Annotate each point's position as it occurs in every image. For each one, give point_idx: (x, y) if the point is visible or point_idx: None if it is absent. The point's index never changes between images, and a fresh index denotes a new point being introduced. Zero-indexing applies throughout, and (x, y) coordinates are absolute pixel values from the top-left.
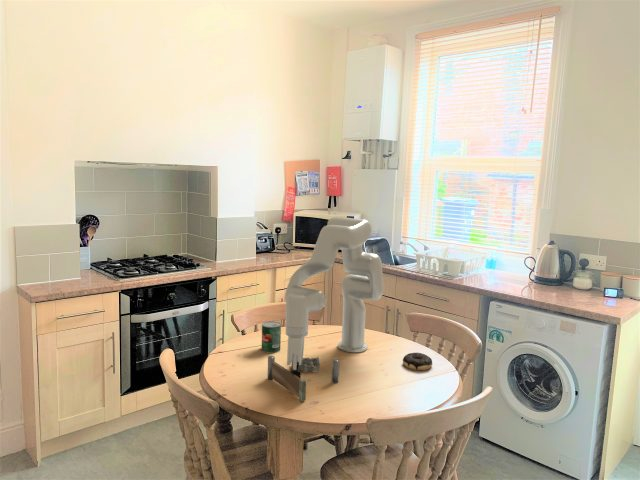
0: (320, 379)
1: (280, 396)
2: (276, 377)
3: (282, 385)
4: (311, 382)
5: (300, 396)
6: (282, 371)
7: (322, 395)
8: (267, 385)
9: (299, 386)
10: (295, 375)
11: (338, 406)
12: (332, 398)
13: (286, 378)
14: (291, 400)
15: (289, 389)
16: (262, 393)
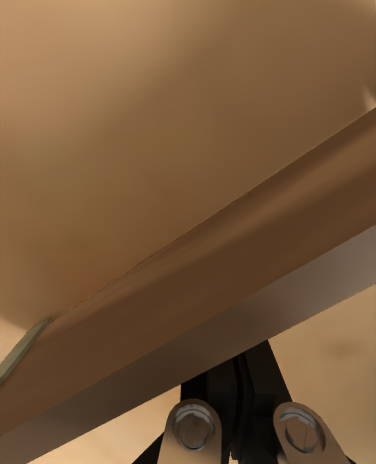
0: (341, 398)
1: (85, 201)
2: (332, 152)
3: (222, 210)
4: (306, 362)
5: (18, 347)
6: (262, 262)
7: (144, 407)
8: (276, 70)
9: None
10: (68, 436)
11: (46, 455)
12: (119, 439)
13: (169, 285)
14: (45, 273)
15: (137, 269)
16: (109, 38)
